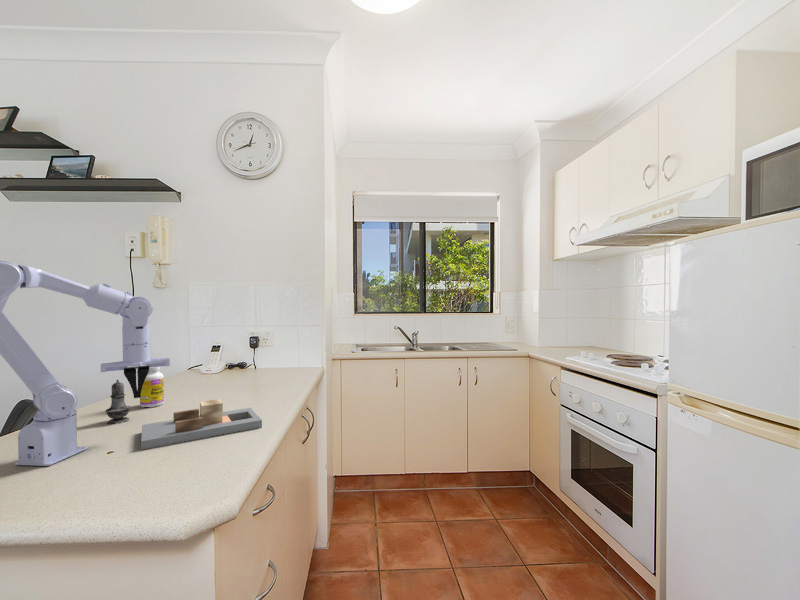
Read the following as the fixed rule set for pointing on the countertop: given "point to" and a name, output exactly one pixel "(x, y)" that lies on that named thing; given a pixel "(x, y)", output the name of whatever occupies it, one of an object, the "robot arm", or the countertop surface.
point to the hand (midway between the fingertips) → (137, 397)
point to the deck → (167, 435)
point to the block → (211, 411)
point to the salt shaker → (117, 405)
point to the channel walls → (187, 420)
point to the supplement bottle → (152, 389)
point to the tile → (223, 420)
